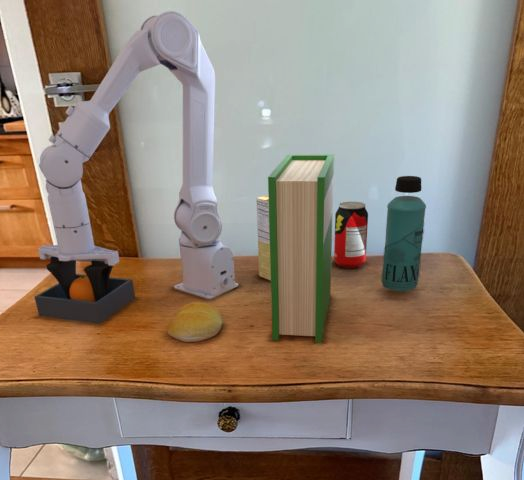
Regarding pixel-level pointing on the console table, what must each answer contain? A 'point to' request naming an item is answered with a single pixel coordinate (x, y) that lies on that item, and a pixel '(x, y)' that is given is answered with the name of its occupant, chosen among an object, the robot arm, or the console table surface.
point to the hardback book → (301, 244)
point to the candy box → (263, 237)
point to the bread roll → (195, 322)
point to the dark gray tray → (85, 302)
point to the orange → (82, 290)
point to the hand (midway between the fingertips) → (87, 300)
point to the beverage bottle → (403, 237)
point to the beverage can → (350, 234)
